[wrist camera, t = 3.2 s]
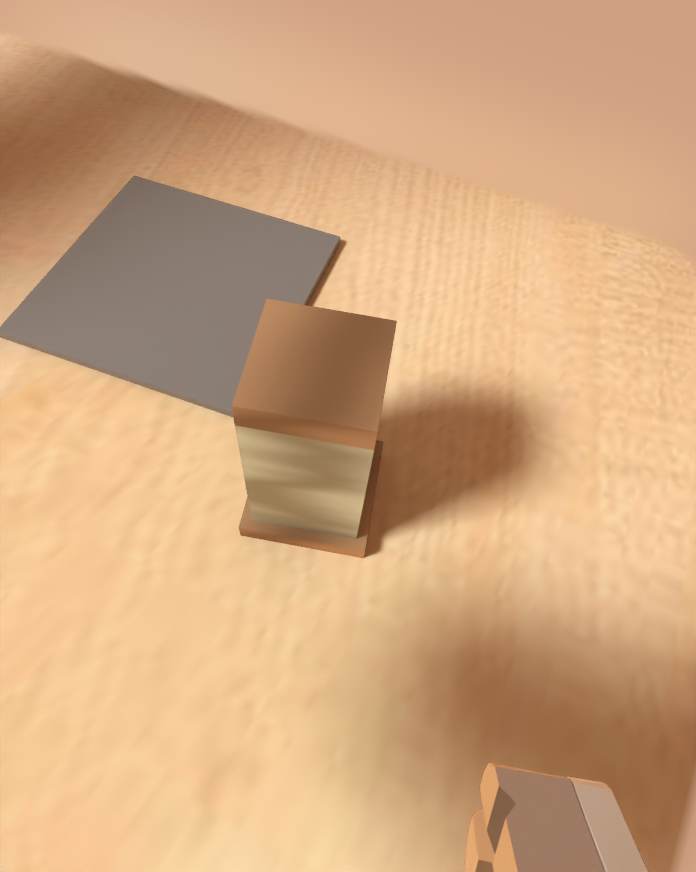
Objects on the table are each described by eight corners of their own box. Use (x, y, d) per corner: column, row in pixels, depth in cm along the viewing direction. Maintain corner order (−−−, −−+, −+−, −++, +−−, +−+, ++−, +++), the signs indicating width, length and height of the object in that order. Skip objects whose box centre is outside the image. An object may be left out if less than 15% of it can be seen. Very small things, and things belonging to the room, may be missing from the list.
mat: (0, 337, 28) (-4, 331, 27) (135, 181, 34) (134, 175, 33) (243, 420, 26) (243, 415, 26) (339, 242, 32) (340, 236, 32)
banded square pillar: (240, 535, 23) (212, 415, 16) (269, 431, 26) (257, 287, 19) (363, 558, 23) (390, 447, 16) (381, 451, 26) (411, 313, 19)
